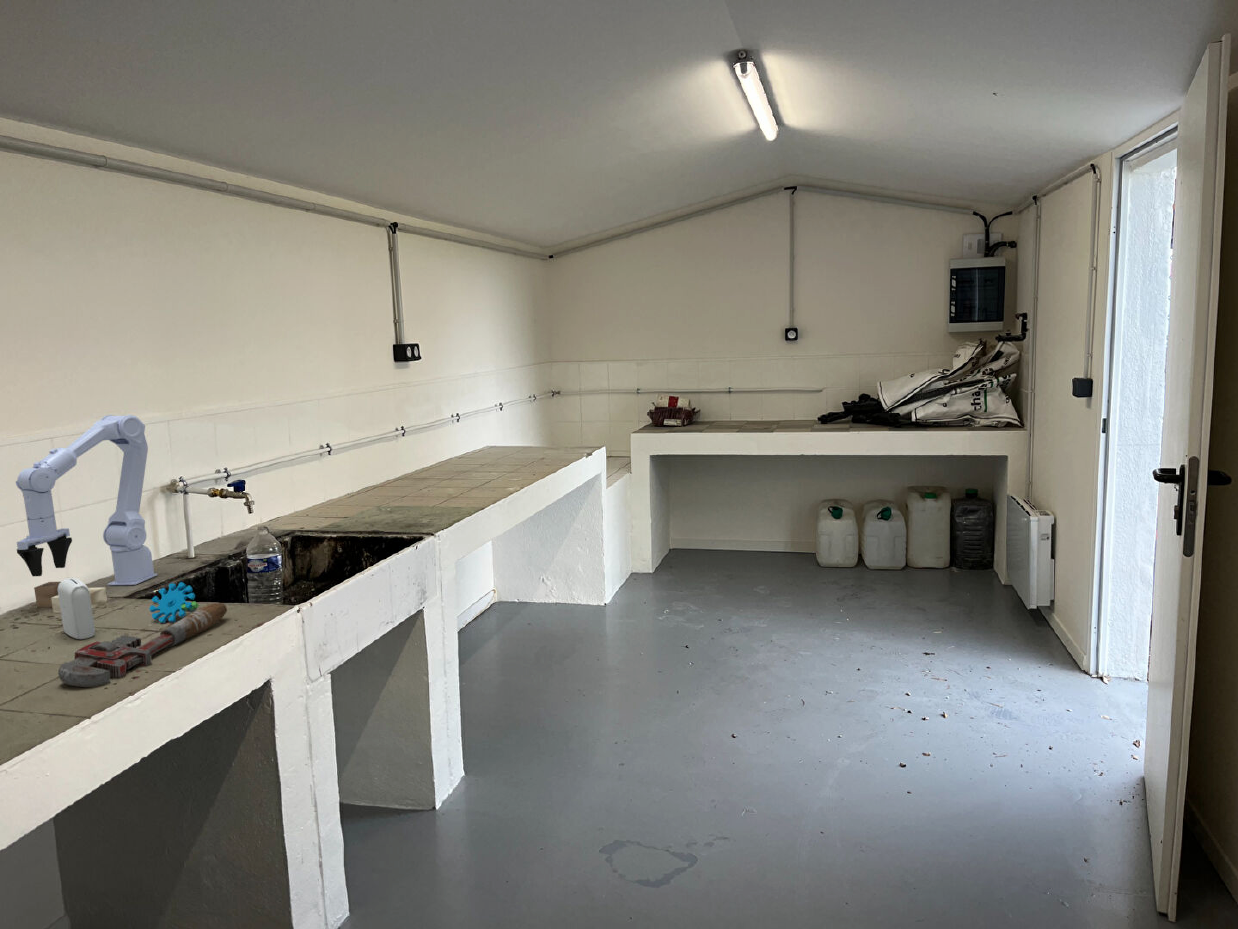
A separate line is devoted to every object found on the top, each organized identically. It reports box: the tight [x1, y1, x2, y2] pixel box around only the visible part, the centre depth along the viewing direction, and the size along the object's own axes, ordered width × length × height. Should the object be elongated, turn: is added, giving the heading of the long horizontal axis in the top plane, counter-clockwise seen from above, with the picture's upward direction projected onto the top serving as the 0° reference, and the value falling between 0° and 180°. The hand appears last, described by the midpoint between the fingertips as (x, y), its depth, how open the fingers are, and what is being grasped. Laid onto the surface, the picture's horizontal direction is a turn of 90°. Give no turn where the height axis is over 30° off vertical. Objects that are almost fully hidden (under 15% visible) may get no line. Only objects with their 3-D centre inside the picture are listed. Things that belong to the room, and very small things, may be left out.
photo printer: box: [58, 577, 96, 640], centre depth 194 cm, size 10×4×12 cm, turn 47°
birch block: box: [51, 587, 108, 614], centre depth 216 cm, size 8×8×4 cm
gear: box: [148, 581, 200, 624], centre depth 204 cm, size 11×6×10 cm
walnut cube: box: [33, 581, 62, 608], centre depth 220 cm, size 5×5×5 cm
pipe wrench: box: [57, 602, 228, 688], centre depth 182 cm, size 40×12×5 cm, turn 169°
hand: (49, 571), depth 220 cm, fingers open, 7 cm apart
